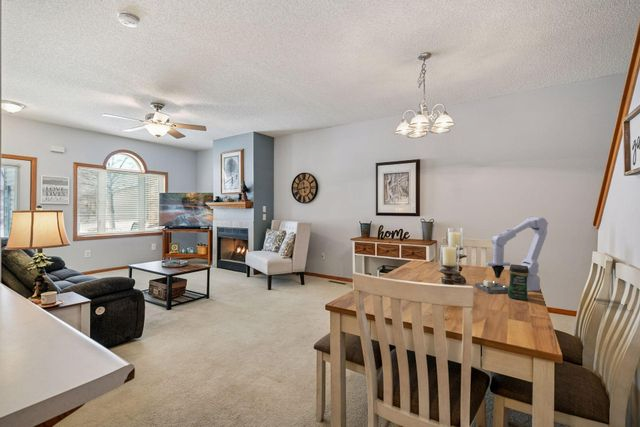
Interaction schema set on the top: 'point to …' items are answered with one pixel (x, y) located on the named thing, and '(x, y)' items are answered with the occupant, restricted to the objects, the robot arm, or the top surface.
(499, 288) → the console
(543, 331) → the top surface
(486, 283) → the fader cap
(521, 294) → the coffee jar
